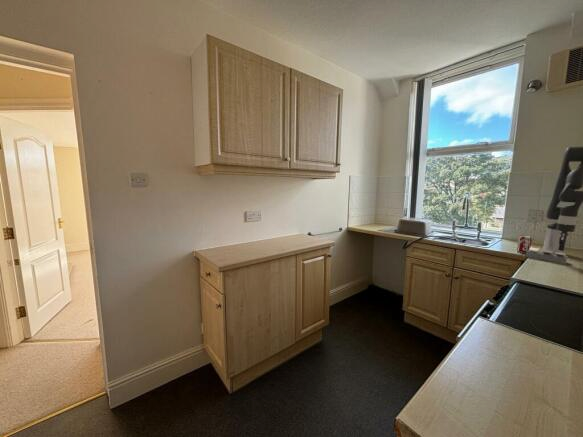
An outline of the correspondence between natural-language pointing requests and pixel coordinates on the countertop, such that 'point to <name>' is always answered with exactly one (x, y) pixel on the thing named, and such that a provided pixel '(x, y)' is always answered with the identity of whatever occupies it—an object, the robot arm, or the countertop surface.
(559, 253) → the rocker
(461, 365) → the countertop surface
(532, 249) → the rocker
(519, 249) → the soda can
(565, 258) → the power strip
